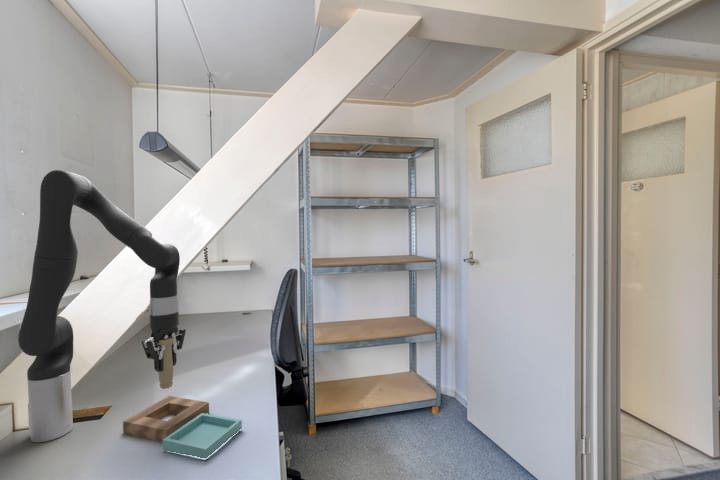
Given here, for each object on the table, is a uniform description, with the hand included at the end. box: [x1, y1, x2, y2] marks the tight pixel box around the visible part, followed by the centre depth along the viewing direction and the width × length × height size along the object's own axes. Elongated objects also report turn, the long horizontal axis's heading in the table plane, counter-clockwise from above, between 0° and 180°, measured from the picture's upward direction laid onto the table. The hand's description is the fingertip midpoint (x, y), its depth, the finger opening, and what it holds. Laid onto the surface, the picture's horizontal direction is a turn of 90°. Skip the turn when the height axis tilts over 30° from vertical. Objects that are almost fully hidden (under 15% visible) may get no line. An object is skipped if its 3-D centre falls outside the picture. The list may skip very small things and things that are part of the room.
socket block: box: [122, 395, 210, 443], centre depth 106 cm, size 16×16×4 cm
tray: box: [162, 413, 243, 458], centre depth 97 cm, size 14×14×3 cm
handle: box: [157, 337, 174, 390], centre depth 105 cm, size 5×6×15 cm
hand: (165, 368), depth 105 cm, fingers closed on handle, 4 cm apart
